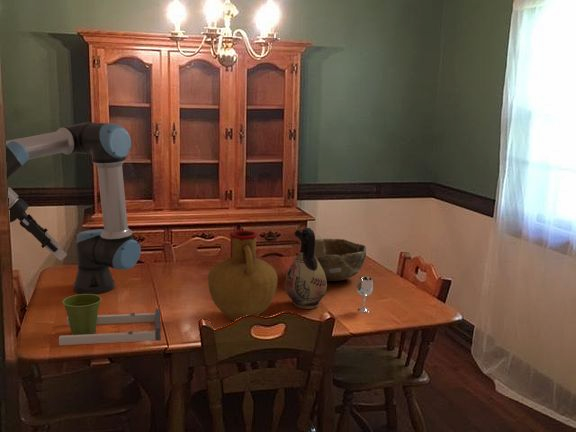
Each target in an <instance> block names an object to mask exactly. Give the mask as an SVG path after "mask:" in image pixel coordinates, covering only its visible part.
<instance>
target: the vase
mask: <svg viewBox="0 0 576 432" xmlns="http://www.w3.org/2000/svg"><path fill="white" fill-rule="evenodd" d="M257 236H258V233H257V232H255V231H250V230H235V231H232V232H230V233H229V237H230V257H228V258H226V259H223V260H222V261H219V262H217V263H216V264H214V265H213V266H212V268H211V269H210V270H209V272H208V273H207V282H208V283H207V284H208V292H209V295H210V297H211V299H212V301H213V303H214V305H215V306H216V308H217V309H218V310H219V311H220V312H222V313H223V314H224V315H225V316H227V317H228V318H229V319H230V320H231V319H232V320H231V321H233V320H236V319H238V318H240V317H243V316H246V315H258V316H259V315H261V314H262V313H263V312H264V311H266V310H267V309H268V307H269V306H270V305H271V303H272V301H273V298H274V296H275V294H276V292H277V287H278V274H277V271H276V270H275V268H274V267H273V266H272V265H271V264H269V263H267V262H266V261H265V260H262V259H260V258H257V252H256V251H257Z"/></svg>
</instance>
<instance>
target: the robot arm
mask: <svg viewBox="0 0 576 432" xmlns="http://www.w3.org/2000/svg"><path fill="white" fill-rule="evenodd" d="M5 141H6V162H7V180H8V179H9V178H10V177H11V176H13V175H14V174H15V173H16V172H17V171H18V170H19V169H20V168H21V167H23V166H24V164H25V163H27V161H29V160H35V159H39V158H45V157H48V156H53V155H57V154H64V155H71V154H85V155H91V160H92V164H94V165H95V166H96V167H97V175H98V186H99V194H100V196H99V197H100V204H101V214H102V224H103V225H102V226H103V228H97V229H88V230H83V231H80V232H78V233H77V235H76V242H75V243H76V255H77V258H76V259H77V272H76V276H75V281H74V283H73V291H74V292H76V293H78V294H95V295H98V294H104V293H108V292H110V291H112V290H114V289H115V280H114V278H113V275H112V272H111V269H115V270H119V271H120V270H121V271H127V270H130V269H132V268H134V267H135V265H136V264H137V262H138V261H139V259H140V257H141V250H142V249H141V248H142V247H141V245H140V243H139V242H138V241H137V240H136V239H134V236H133V235H134V234H133V231H132V229H130V228H129V225H128V224H129V223H128V216H127V204H126V194H125V184H124V173H123V164H124V163H125V162H126V160H127V159H126V157H127V155H129V153H130V151H131V149H132V139H131V136H130V133H129V132H128V130H127V129H126V128H124V127H123V126H122V125H120V124H117V123H116V124H115V123H112V122H110V123H109V122H90V121H89V122H81V123H77V124H72V125H70V126H64V127H60V128H58V129H57V130H56V131H52V132H47V133H41V134H38V135H32V136H27V137H25V136H24V137H22V138H21V137H20V138H19V137H18V138H14V139H11V140H10V139H9V140H5ZM8 198H9V210H10V222H9V223H13V222H15V221H16V220H18V221H19V225H20V226H21V227H22V228H23V229H25V230H26V231H27V232H28V233H30V234H31V235H32V236H33V237H34V238H35V239H36V240H37V241H38V242H39V243H40V244H41V245H40V247H41V248H46V249H47V250H48V251H49V253H51V254H52V255H53V256H54V257H56V259H58V260H59V261H60V262H61V261H62V260H63V259H64V258H65V257H67V255H68V253H66V252H65V251H64V250H63V249H62V245H61V244H60V243H59V242H58V241H57V240H56V239H55V238H54V237H53V236H52V235H51V234H49V232H48V231H49V230H48V229H47V228H46V227H45V228H44V227H42V226H41V225H40V224H39V223H38V222H37V220H35V219H34V217H33V216H32V215H31V214H30V213H28V214H27V212H26V211H27V210H28V208H29V204H27V202H26V201H25V200H24V199H23V198H21V197H19V194H17V193H16V192H15V191H14V190H13V188H11V187H10V186H8ZM110 268H111V269H110Z"/></svg>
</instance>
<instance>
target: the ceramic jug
mask: <svg viewBox="0 0 576 432" xmlns="http://www.w3.org/2000/svg"><path fill="white" fill-rule="evenodd" d="M294 236H295V237H296V238H298V239H299V241H300V250H299V252H298V254H297V255H296V256H295V257H294V259H293V260H292V263H291V264H290V265H289V268H288V270H287V273H286V277H285V281H284V287H285V291H286V292H285V293H286V294H287V296H288V298H289V299H290V300H291V301H292V303H293V305H294V307H296V308H300V309H303V310H305V309H307V310H311V309H314V308H318V307H319V305H320V301H321V300H322V299H323V298H324V296H325V294H326V293H327V289H328V283H327V282H328V281H326V276H325V273H324V270H323V268H322V267H321V265H320V263H319V262H318V260H317V259H316V257H315V256H314V249H315V240H316V235H315V232H314V230H313V229H311V227H305V228H303V229H302V231H301V230H300V229H296V230H295V232H294Z"/></svg>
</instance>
